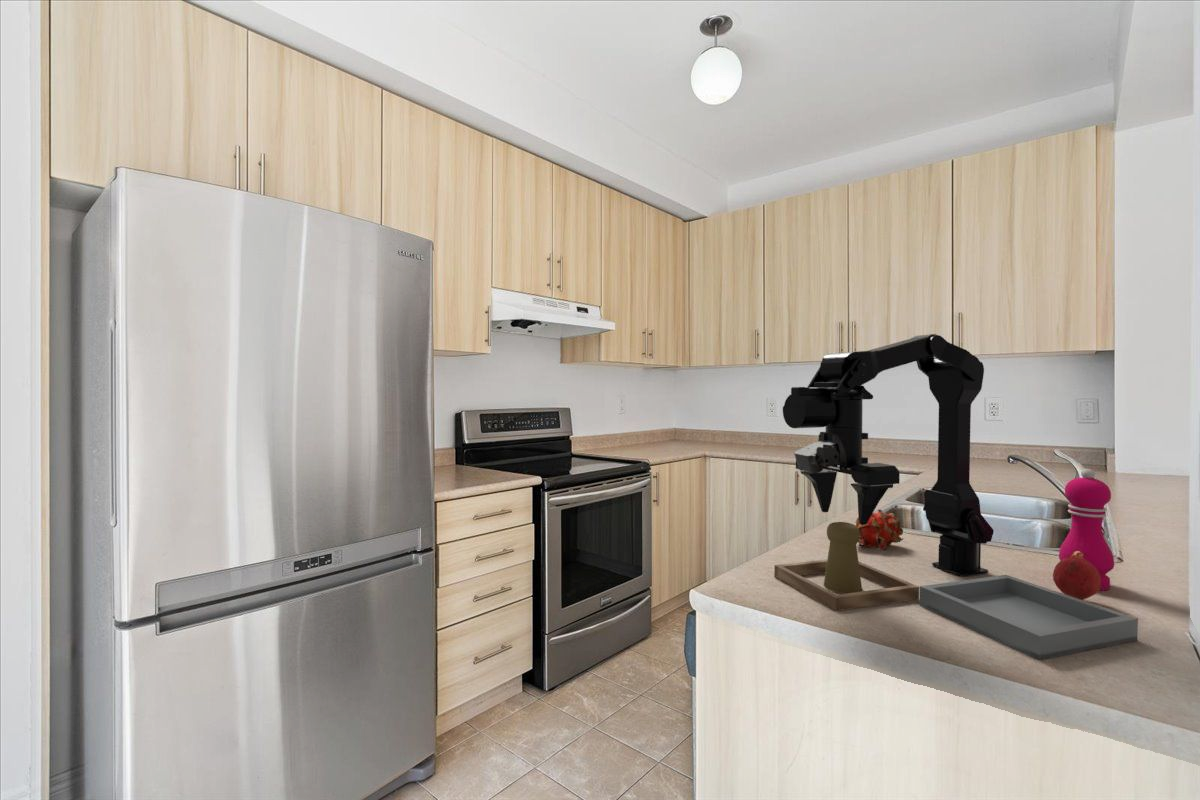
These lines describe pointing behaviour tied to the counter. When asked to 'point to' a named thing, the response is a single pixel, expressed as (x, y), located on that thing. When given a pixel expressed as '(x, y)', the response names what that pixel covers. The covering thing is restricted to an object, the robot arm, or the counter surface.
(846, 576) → the olive shaker
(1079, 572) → the pomegranate
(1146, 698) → the counter surface
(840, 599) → the frame
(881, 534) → the dragon fruit
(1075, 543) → the pepper mill
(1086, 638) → the gray square tray
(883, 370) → the robot arm
